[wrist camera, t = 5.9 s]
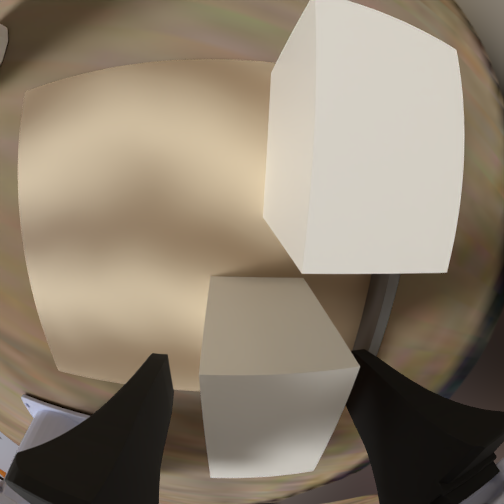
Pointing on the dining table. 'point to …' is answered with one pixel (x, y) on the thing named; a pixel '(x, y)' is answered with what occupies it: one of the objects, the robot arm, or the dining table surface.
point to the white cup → (3, 41)
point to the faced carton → (364, 144)
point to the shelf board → (158, 214)
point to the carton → (270, 377)
